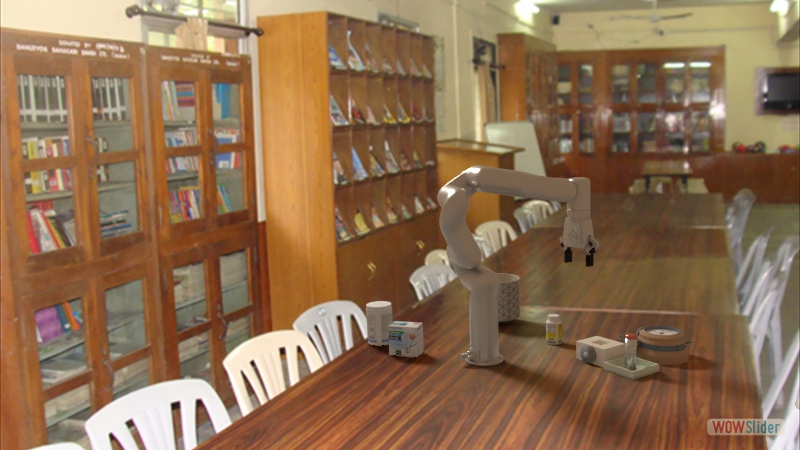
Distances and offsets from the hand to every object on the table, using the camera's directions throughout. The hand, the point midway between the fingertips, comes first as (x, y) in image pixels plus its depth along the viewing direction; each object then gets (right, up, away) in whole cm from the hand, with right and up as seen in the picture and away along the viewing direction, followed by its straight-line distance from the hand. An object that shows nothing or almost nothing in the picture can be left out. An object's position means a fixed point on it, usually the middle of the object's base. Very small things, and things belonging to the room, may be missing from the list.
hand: (578, 264), depth 264 cm
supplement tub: (-68, -30, +21) cm, 77 cm away
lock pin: (+12, -32, -18) cm, 39 cm away
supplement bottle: (-6, -29, +14) cm, 33 cm away
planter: (-23, -26, +43) cm, 55 cm away
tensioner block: (+6, -31, -6) cm, 32 cm away
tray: (+12, -33, -18) cm, 39 cm away
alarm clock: (+24, -31, -3) cm, 39 cm away
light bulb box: (-58, -32, +7) cm, 67 cm away
